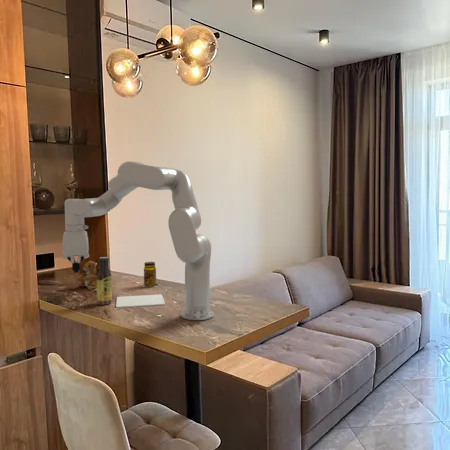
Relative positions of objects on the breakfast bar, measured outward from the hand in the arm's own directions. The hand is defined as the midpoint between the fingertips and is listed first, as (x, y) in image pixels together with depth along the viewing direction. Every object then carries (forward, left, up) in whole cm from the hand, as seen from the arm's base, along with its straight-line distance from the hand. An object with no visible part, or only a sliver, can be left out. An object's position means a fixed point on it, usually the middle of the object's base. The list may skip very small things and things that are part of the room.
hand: (76, 272), depth 177 cm
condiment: (+29, -32, -14) cm, 46 cm away
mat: (0, -26, -14) cm, 30 cm away
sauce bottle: (0, -11, -14) cm, 18 cm away
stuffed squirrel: (+34, -5, -14) cm, 37 cm away
